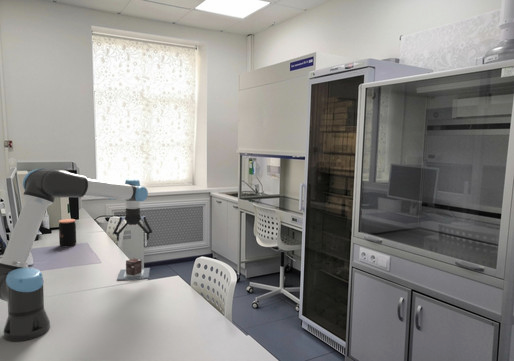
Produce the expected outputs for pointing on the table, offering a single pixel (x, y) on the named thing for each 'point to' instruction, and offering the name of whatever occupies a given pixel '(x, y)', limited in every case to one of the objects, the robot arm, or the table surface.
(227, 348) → the table surface
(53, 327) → the table surface
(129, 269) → the box
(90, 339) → the table surface
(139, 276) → the mat
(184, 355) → the table surface
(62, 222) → the coffee jar
